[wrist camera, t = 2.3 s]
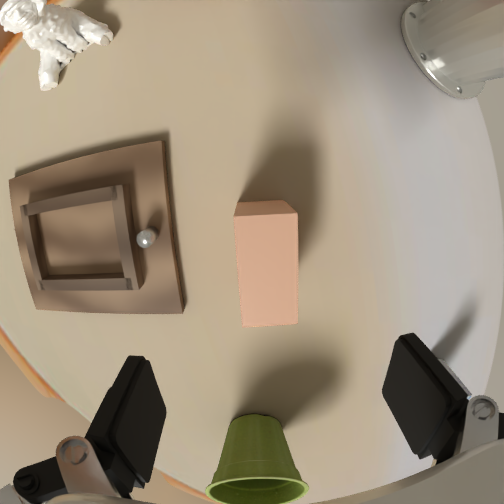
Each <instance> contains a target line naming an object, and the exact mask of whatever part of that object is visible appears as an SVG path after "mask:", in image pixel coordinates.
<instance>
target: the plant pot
mask: <svg viewBox="0 0 504 504" xmlns="http://www.w3.org/2000/svg"><path fill="white" fill-rule="evenodd" d="M308 490H309V486H308V485H307V483H305V482H304V481H302V479H301V476H300V474H299V471H298V470H297V469H296V467H295V464H294V462H293V459H292V456H291V453H290V450H289V447H288V444H287V441H286V439H285V436H284V433H283V430H282V427H281V424H280V422H279V421H278V420H277V419H275V418H273V417H271V416H262V415H259V414H250V415H245V416H241V417H239V418H236V419H235V420H233V421H232V423H231V424H230V426H229V428H228V432H227V436H226V439H225V443H224V447H223V450H222V454H221V457H220V461H219V465H218V468H217V471H216V472H215V473H214V476H213V480H212V483H211V484H210V485H208V486H207V487H206V490H205V493H206V495H207V496H208V497H209V498H211V499H212V500H214V501H216V502H220V503H223V504H287V503H290V502H292V501H295V500H298V499H299V498H301V497H303V496H304V495H305V494H307V492H308Z"/></svg>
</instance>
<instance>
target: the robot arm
mask: <svg viewBox="0 0 504 504" xmlns="http://www.w3.org/2000/svg"><path fill="white" fill-rule="evenodd" d="M401 28H402V33H403V37H404V40H405V43H406V45H407V48H408V50H409V51H410V53H411V55H412V57H413V59H414V60H415V62H416V63H417V65H418V66H419V68H420V69H421V70H422V71H423V72H424V74H425V75H426V76H427V77H428V78H429V79H430V80H431V81H432V82H433V83H434V84H435V85H436V86H437V87H439V88H440V89H441V90H442V91H444V92H446V93H447V94H449V95H451V96H453V97H456V98H460V99H468V98H473V97H476V96H478V95H479V94H480V93H481V91H482V90H483V88H484V85H485V81H487V80H492V79H497V78H502V77H504V0H430V1H429V2H418V3H414V4H412V5H410V6H409V7H408V8H407V9H406V10H405V11H404V13H403V15H402V20H401ZM382 394H383V397H384V399H385V401H386V402H387V404H388V406H389V408H390V410H391V412H392V413H393V415H394V417H395V419H396V421H397V423H398V425H399V427H400V429H401V430H402V432H403V434H404V436H405V438H406V440H407V442H408V444H409V446H410V448H411V450H412V452H413V453H414V454H417V455H418V457H419V459H423V458H425V457H427V456H429V455H431V454H432V456H433V458H434V459H433V463H432V466H431V468H428V469H426V470H424V471H421V472H419V473H417V474H414V475H412V476H409V477H407V478H404V479H401V480H399V481H396V482H393V483H390V484H387V485H384V486H381V487H378V488H375V489H372V490H368V491H365V492H361V493H358V494H354V495H350V496H346V497H342V498H337V499H332V500H328V501H322V502H317V503H311V504H504V413H499V410H498V406H497V404H496V402H495V401H494V400H493V399H491V398H490V397H487V396H484V395H479V396H475V397H473V398H472V399H471V400H470V401H469V400H468V399H467V397H468V394H467V393H466V392H465V391H464V389H463V388H462V387H461V386H460V385H459V383H458V382H457V381H456V380H455V379H454V377H453V376H452V375H451V374H450V373H449V372H448V370H447V369H446V368H445V367H444V366H443V365H442V363H441V362H440V361H439V360H438V359H437V358H436V357H435V355H434V354H433V353H432V352H431V351H430V350H429V349H428V348H427V346H426V345H425V344H424V343H423V342H422V341H421V340H420V339H419V338H418V337H417V335H416V334H414V333H409V334H405V335H401V336H400V337H399V338H398V340H396V341H395V344H394V348H393V352H392V356H391V360H390V364H389V367H388V371H387V375H386V378H385V381H384V385H383V388H382ZM165 418H166V407H165V404H164V401H163V399H162V396H161V393H160V390H159V388H158V385H157V382H156V379H155V376H154V373H153V370H152V367H151V364H150V362H149V360H146V359H145V358H144V357H143V356H128V357H127V359H126V361H125V363H124V365H123V367H122V368H121V370H120V372H119V374H118V376H117V378H116V380H115V382H114V384H113V385H112V387H111V388H109V390H108V391H107V393H106V395H105V397H104V399H103V401H102V403H101V405H100V407H99V409H98V411H97V413H96V415H95V417H94V419H93V421H92V423H91V425H90V427H89V429H88V432H87V433H86V436H85V438H83V437H80V436H70V437H67V438H65V439H63V440H62V441H61V442H60V443H59V444H58V446H57V448H56V456H55V457H53V458H50V459H47V460H45V461H42V462H39V463H36V464H33V465H30V466H27V467H24V468H22V469H20V470H19V471H17V472H16V474H15V476H14V480H13V484H14V485H10V484H8V485H6V486H5V487H3V488H2V489H0V504H153V503H148V502H142V501H137V500H135V499H134V497H133V495H132V494H131V492H132V490H133V487H138V488H143V489H144V486H145V482H146V483H148V482H149V481H150V478H151V474H152V470H153V465H154V461H155V457H156V453H157V449H158V445H159V441H160V437H161V433H162V429H163V426H164V422H165Z"/></svg>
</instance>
